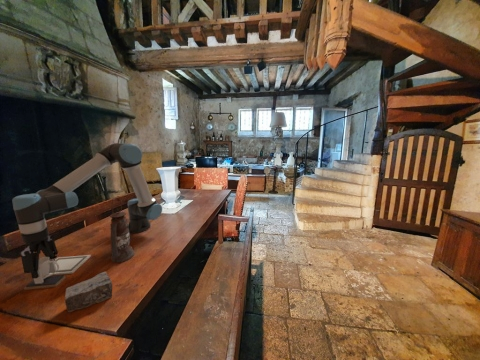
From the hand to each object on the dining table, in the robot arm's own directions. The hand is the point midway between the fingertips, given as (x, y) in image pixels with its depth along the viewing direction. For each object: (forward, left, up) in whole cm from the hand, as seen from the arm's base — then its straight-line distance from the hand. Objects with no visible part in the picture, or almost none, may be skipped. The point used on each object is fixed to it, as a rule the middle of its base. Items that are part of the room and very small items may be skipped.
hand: (46, 277), depth 81 cm
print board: (+1, -12, -3) cm, 13 cm away
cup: (0, 0, 0) cm, 0 cm away
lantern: (-25, -16, -3) cm, 30 cm away
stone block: (-25, +13, -3) cm, 29 cm away
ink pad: (0, 0, -3) cm, 3 cm away
